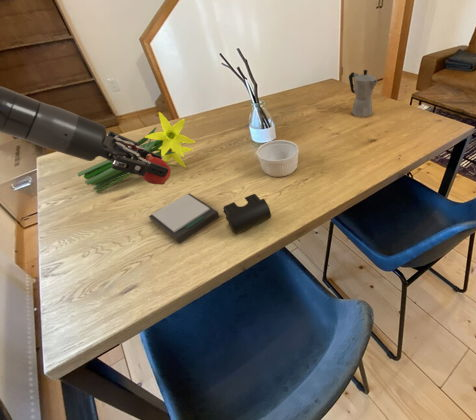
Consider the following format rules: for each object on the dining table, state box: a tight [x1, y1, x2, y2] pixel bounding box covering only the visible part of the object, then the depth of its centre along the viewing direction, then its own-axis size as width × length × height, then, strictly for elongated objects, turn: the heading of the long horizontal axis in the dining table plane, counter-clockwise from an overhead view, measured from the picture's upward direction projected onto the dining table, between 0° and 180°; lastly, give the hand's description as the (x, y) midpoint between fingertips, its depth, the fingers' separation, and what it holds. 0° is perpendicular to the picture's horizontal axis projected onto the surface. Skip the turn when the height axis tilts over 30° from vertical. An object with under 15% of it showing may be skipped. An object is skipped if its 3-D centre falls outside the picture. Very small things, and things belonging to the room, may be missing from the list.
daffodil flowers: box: [77, 111, 196, 194], centre depth 85 cm, size 17×15×35 cm
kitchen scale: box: [148, 193, 220, 245], centre depth 73 cm, size 12×13×3 cm
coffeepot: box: [348, 69, 379, 118], centre depth 118 cm, size 15×9×18 cm, turn 43°
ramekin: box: [256, 139, 300, 178], centre depth 90 cm, size 13×13×7 cm
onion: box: [141, 154, 171, 186], centre depth 62 cm, size 6×6×8 cm
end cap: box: [222, 193, 272, 235], centre depth 70 cm, size 10×7×7 cm
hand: (162, 166), depth 63 cm, fingers closed on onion, 5 cm apart
